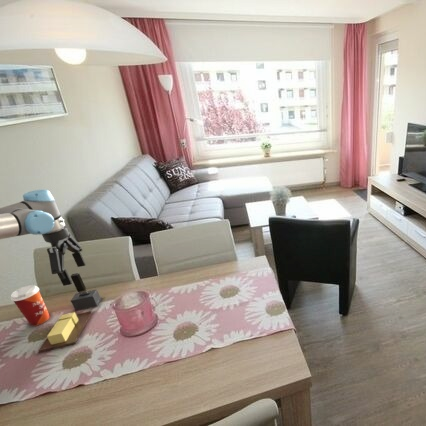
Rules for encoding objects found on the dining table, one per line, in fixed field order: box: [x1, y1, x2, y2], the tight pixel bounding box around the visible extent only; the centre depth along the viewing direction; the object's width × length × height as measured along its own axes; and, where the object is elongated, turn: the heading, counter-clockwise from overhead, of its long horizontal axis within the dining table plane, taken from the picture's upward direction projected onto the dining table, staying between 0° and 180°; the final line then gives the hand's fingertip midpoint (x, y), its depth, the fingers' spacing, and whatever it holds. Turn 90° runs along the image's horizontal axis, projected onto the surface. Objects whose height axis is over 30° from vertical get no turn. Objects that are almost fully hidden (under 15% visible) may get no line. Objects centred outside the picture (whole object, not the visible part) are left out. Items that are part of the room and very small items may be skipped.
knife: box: [70, 272, 88, 296], centre depth 124 cm, size 3×2×15 cm, turn 108°
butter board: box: [38, 310, 93, 353], centre depth 113 cm, size 11×17×1 cm, turn 18°
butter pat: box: [58, 311, 78, 324], centre depth 115 cm, size 4×2×4 cm, turn 108°
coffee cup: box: [10, 284, 51, 327], centre depth 117 cm, size 8×8×15 cm
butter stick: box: [46, 318, 75, 345], centre depth 110 cm, size 4×8×4 cm, turn 18°
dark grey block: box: [70, 288, 102, 312], centre depth 126 cm, size 8×5×6 cm, turn 108°
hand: (75, 274), depth 121 cm, fingers open, 13 cm apart
